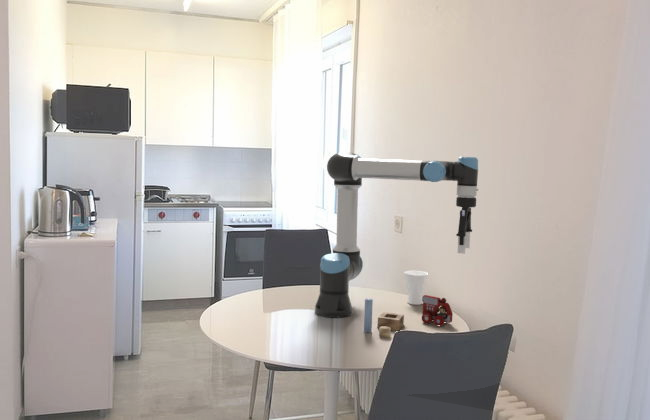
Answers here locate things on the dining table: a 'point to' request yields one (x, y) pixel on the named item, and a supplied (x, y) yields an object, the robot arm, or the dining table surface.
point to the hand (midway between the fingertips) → (463, 250)
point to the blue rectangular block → (368, 316)
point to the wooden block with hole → (391, 320)
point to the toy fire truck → (436, 310)
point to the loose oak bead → (384, 332)
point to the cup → (415, 285)
